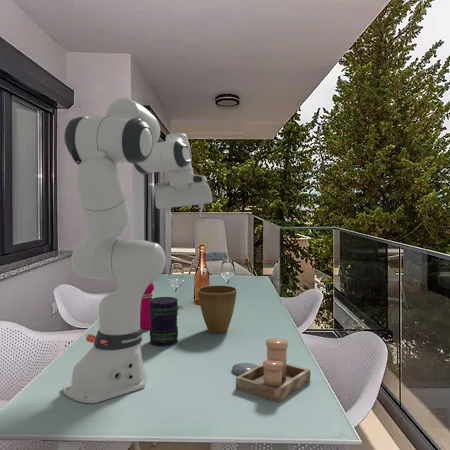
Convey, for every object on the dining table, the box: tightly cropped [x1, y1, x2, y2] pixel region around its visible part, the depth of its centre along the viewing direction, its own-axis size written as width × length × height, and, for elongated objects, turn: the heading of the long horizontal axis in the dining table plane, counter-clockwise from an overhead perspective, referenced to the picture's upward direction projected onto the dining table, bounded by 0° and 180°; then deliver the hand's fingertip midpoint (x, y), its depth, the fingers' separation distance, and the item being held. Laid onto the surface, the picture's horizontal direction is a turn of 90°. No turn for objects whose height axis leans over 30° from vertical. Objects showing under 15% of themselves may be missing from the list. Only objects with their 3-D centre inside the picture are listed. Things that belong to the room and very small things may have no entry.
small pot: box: [262, 359, 283, 388], centre depth 115 cm, size 5×5×7 cm
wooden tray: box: [235, 362, 311, 403], centre depth 121 cm, size 17×13×3 cm
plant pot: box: [197, 284, 238, 334], centre depth 169 cm, size 15×15×16 cm
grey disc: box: [231, 362, 258, 376], centre depth 130 cm, size 8×8×1 cm
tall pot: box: [265, 337, 289, 380], centre depth 123 cm, size 6×6×10 cm
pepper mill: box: [140, 281, 155, 331], centre depth 173 cm, size 7×7×20 cm
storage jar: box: [149, 296, 179, 348], centre depth 155 cm, size 10×10×15 cm
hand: (186, 218), depth 158 cm, fingers open, 8 cm apart
